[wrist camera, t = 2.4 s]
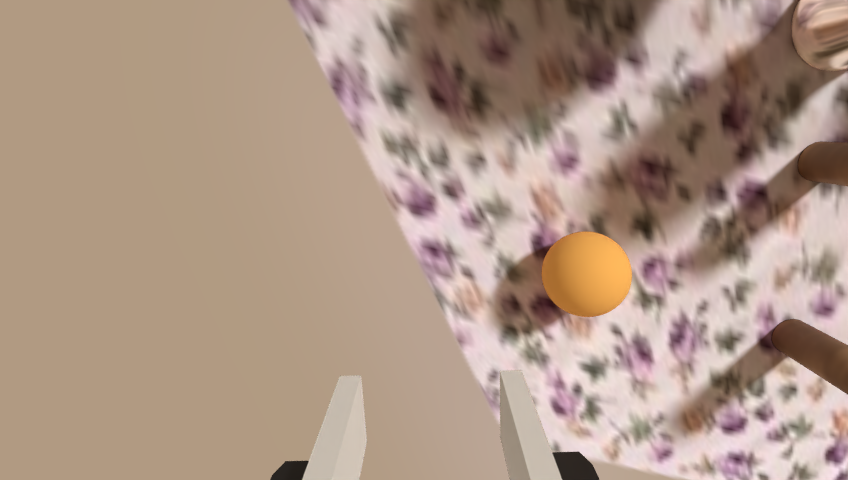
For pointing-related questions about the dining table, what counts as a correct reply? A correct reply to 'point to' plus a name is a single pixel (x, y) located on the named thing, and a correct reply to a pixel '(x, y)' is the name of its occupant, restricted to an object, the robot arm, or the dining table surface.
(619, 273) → the ball
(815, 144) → the inner post
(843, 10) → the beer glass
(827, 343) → the outer post
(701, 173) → the dining table surface
